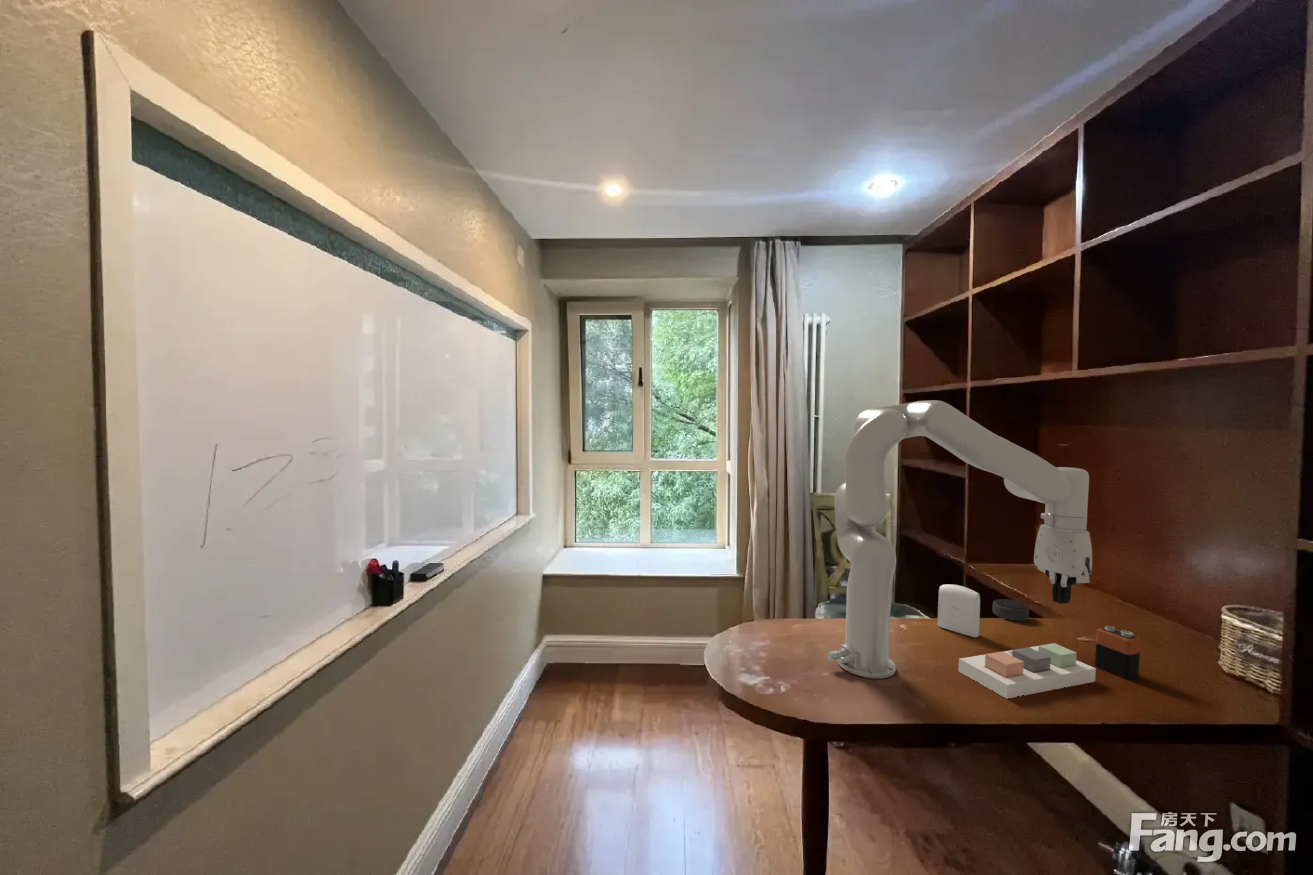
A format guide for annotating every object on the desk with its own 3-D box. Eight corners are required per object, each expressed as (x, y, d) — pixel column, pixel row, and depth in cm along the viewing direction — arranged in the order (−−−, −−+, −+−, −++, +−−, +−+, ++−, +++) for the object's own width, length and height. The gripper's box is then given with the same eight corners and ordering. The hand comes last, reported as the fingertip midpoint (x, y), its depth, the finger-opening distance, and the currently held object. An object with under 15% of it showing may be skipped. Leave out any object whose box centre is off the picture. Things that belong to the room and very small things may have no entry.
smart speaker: (1036, 622, 152) (1037, 609, 152) (1006, 623, 151) (1007, 609, 151) (1013, 610, 161) (1014, 597, 161) (985, 611, 160) (986, 598, 160)
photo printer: (934, 626, 148) (936, 582, 147) (941, 622, 150) (943, 579, 150) (975, 639, 140) (977, 593, 139) (981, 635, 142) (983, 589, 142)
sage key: (1059, 669, 119) (1060, 655, 118) (1037, 659, 123) (1038, 645, 123) (1075, 666, 120) (1076, 652, 120) (1053, 656, 125) (1054, 643, 125)
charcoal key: (1033, 674, 116) (1033, 659, 116) (1011, 663, 121) (1012, 649, 121) (1049, 671, 118) (1050, 657, 118) (1028, 660, 122) (1028, 647, 122)
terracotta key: (1005, 679, 114) (1006, 664, 114) (984, 668, 119) (985, 654, 118) (1022, 676, 115) (1023, 661, 115) (1001, 665, 120) (1002, 651, 120)
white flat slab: (1006, 698, 111) (1007, 683, 111) (958, 671, 122) (959, 657, 122) (1094, 681, 119) (1095, 667, 118) (1041, 657, 130) (1042, 644, 130)
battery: (1126, 680, 120) (1130, 636, 119) (1093, 666, 126) (1096, 624, 125) (1139, 677, 121) (1142, 634, 120) (1105, 663, 127) (1108, 622, 127)
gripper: (1021, 516, 126) (1017, 592, 127) (1089, 530, 112) (1084, 616, 113) (1044, 515, 128) (1040, 589, 129) (1113, 528, 114) (1109, 612, 115)
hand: (1061, 601), depth 121 cm, fingers closed
